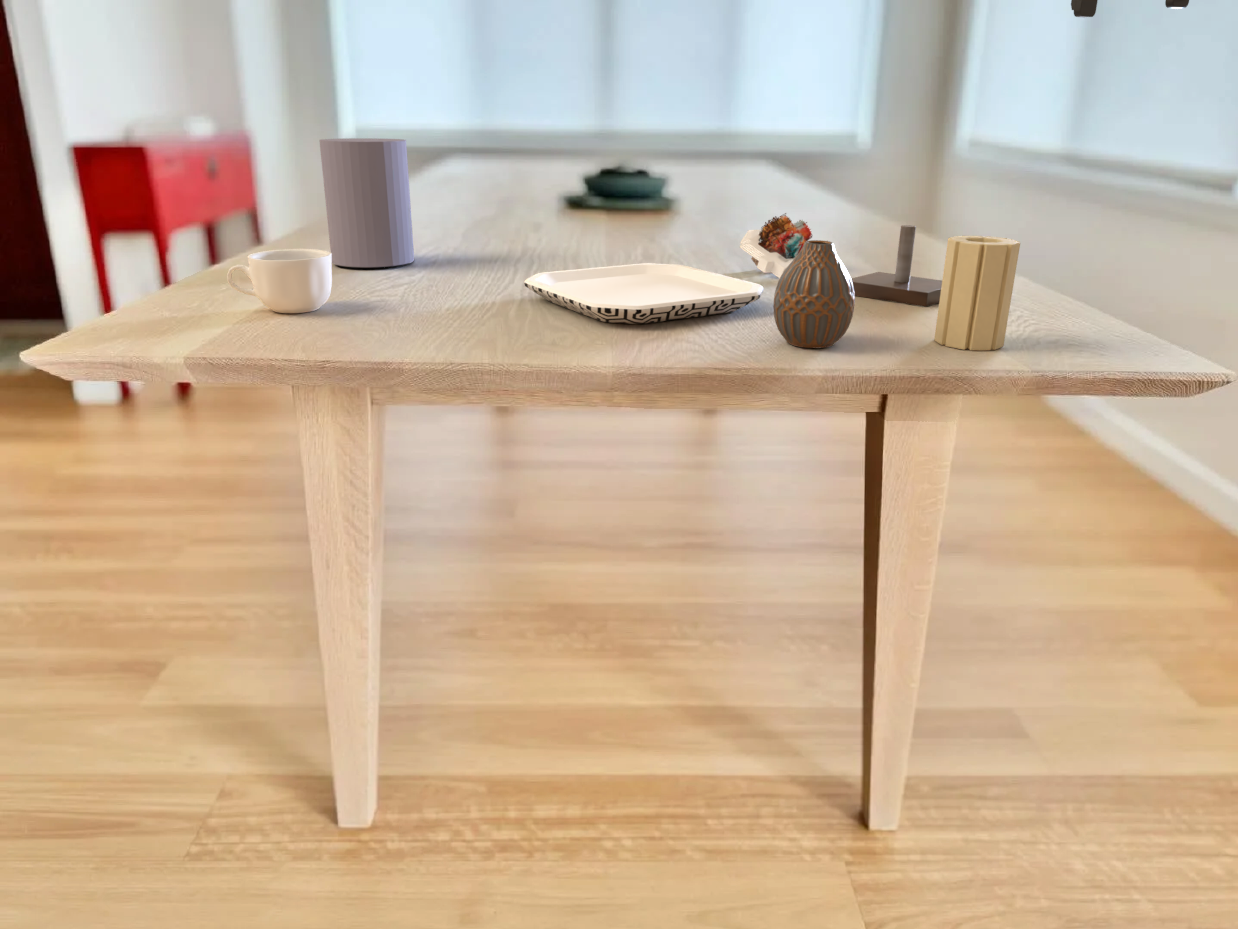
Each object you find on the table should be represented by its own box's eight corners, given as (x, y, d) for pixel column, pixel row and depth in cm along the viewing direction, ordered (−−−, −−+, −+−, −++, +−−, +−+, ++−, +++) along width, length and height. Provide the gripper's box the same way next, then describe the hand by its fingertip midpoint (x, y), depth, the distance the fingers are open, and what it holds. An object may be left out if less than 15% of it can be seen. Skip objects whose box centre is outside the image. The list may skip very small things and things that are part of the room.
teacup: (339, 299, 97) (334, 247, 95) (334, 315, 90) (328, 259, 88) (238, 303, 95) (230, 249, 93) (225, 319, 88) (216, 262, 86)
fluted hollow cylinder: (1012, 342, 83) (1029, 240, 79) (985, 354, 79) (1003, 246, 76) (952, 332, 86) (966, 233, 83) (924, 342, 82) (938, 239, 79)
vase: (855, 338, 84) (866, 239, 80) (843, 356, 78) (854, 250, 74) (780, 331, 86) (787, 234, 83) (762, 347, 80) (769, 244, 77)
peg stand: (958, 296, 102) (969, 227, 100) (926, 306, 97) (935, 233, 94) (877, 284, 109) (884, 218, 106) (841, 293, 103) (848, 224, 100)
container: (354, 272, 112) (342, 142, 107) (318, 262, 119) (305, 138, 114) (429, 264, 119) (421, 140, 113) (390, 254, 126) (381, 137, 120)
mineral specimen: (780, 243, 124) (794, 193, 120) (843, 283, 118) (860, 232, 113) (714, 258, 118) (726, 206, 114) (777, 301, 111) (792, 248, 107)
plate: (782, 311, 94) (784, 289, 93) (608, 334, 84) (609, 310, 83) (667, 279, 110) (668, 260, 110) (510, 295, 100) (510, 274, 99)
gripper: (1059, -192, 79) (1029, 17, 85) (1231, -246, 68) (1184, 0, 73) (1113, -178, 83) (1081, 22, 88) (1285, -227, 71) (1236, 6, 77)
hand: (1128, 12), depth 81 cm, fingers open, 8 cm apart
